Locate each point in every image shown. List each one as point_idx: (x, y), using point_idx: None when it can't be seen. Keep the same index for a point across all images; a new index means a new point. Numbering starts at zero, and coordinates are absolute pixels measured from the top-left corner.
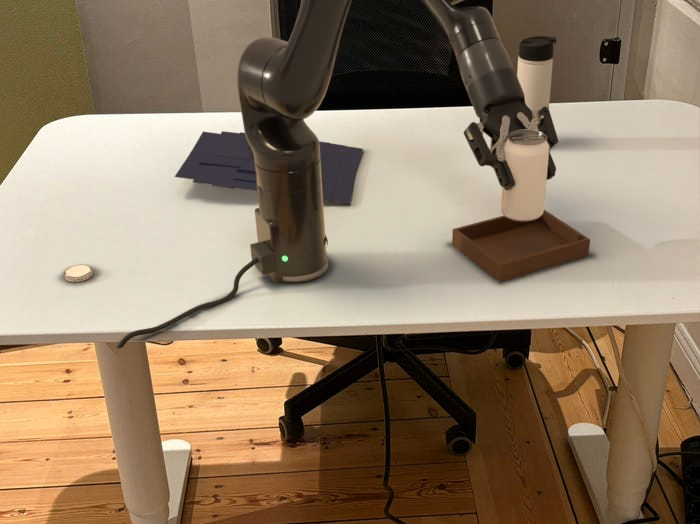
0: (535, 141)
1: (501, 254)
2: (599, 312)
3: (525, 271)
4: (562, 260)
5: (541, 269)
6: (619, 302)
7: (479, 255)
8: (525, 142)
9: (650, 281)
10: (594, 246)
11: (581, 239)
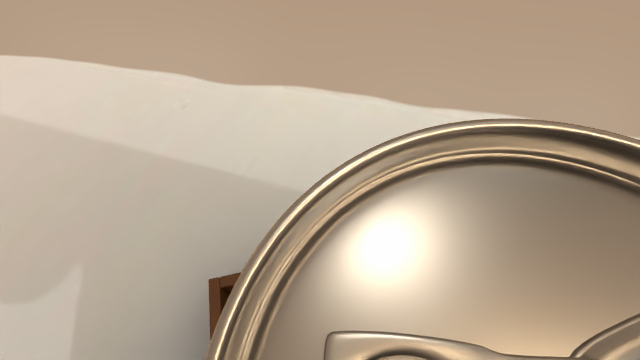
0: (438, 262)
1: None
2: (323, 97)
3: None
4: None
5: None
6: (274, 114)
7: None
8: (605, 278)
9: (178, 158)
10: (181, 334)
11: (223, 303)
